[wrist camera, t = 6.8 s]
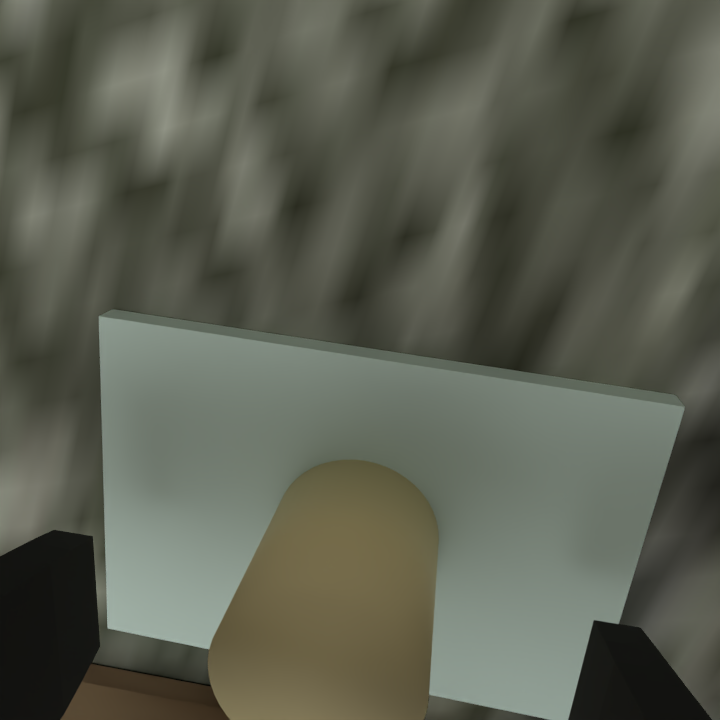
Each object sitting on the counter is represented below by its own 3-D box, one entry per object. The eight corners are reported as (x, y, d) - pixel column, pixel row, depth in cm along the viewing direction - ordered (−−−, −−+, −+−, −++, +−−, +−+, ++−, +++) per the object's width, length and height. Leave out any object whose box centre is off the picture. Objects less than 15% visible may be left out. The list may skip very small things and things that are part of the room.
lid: (666, 384, 11) (786, 534, 7) (578, 686, 14) (629, 933, 9) (126, 302, 12) (-50, 391, 8) (130, 596, 15) (-5, 784, 10)
